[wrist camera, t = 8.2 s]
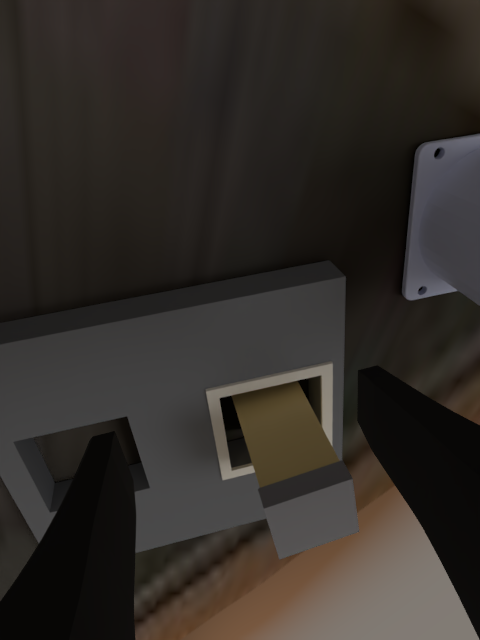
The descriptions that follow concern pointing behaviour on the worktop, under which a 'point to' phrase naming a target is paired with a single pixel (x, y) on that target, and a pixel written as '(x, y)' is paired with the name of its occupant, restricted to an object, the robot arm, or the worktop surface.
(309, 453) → the plug
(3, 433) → the socket panel
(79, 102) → the worktop surface
